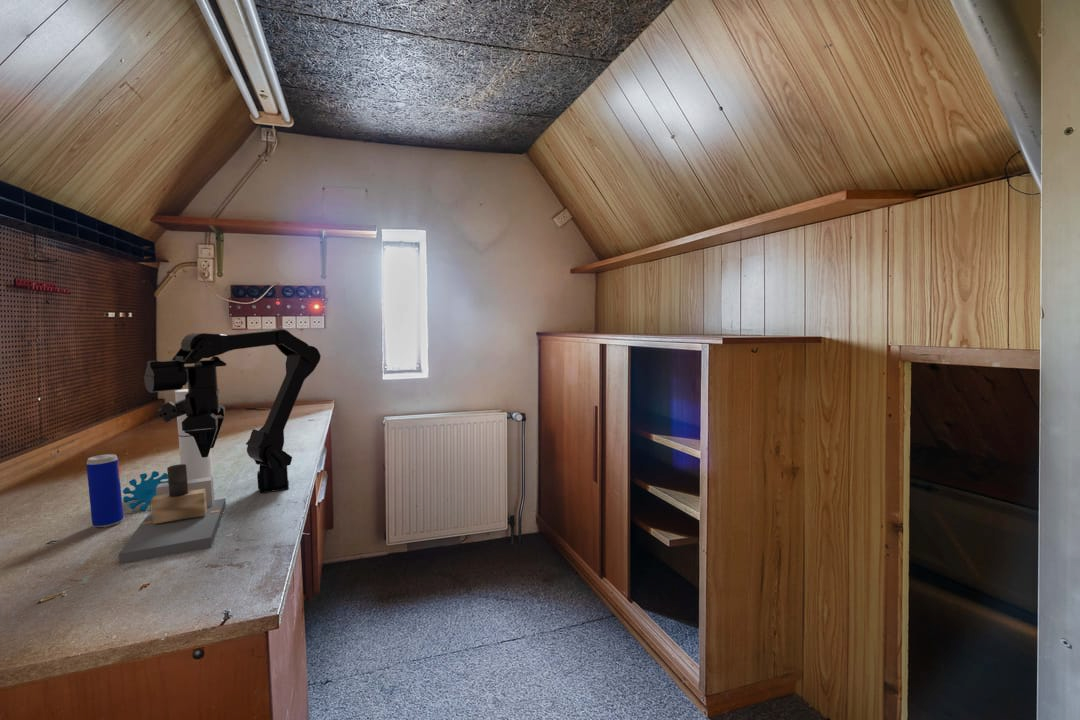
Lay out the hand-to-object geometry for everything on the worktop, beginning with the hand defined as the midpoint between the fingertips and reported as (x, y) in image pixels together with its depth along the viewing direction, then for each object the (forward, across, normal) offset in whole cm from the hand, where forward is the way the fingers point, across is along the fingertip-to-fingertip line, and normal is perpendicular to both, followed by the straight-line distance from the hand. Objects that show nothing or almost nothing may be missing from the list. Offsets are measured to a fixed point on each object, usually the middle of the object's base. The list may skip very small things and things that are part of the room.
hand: (207, 452), depth 116 cm
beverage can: (+13, +1, -19) cm, 23 cm away
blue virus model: (+13, -8, -13) cm, 20 cm away
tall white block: (+13, -29, -7) cm, 33 cm away
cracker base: (+13, +14, -4) cm, 20 cm away
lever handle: (+11, +12, -4) cm, 17 cm away
